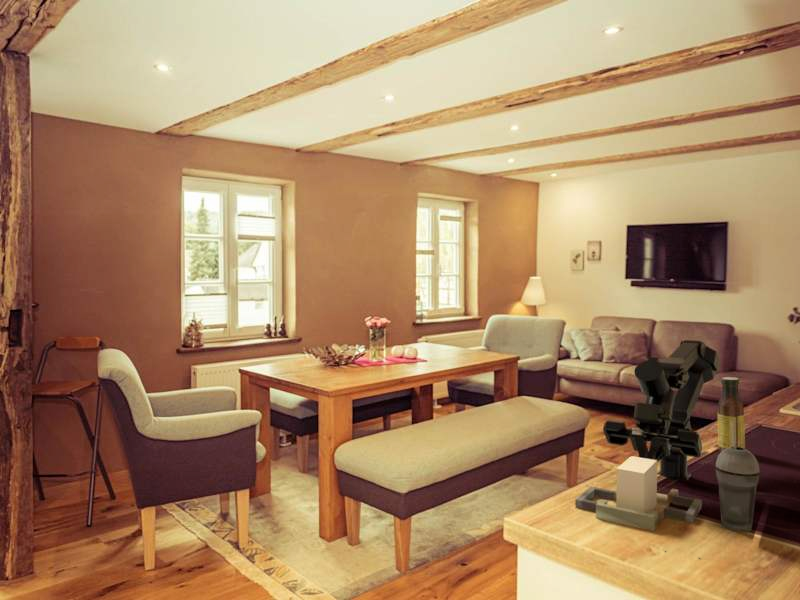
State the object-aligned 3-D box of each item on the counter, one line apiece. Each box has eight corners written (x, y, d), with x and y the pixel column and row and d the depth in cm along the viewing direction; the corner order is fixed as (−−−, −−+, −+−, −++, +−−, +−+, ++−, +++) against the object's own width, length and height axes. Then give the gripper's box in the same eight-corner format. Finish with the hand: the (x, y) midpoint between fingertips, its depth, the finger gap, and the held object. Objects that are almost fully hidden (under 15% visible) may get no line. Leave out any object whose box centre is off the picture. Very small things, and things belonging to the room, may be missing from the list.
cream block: (630, 499, 124) (631, 456, 124) (656, 504, 121) (657, 460, 121) (616, 515, 116) (616, 468, 116) (643, 521, 113) (644, 473, 113)
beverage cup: (735, 542, 106) (737, 429, 105) (704, 526, 113) (706, 420, 112) (769, 538, 108) (771, 426, 107) (736, 522, 115) (738, 417, 114)
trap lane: (603, 487, 134) (603, 471, 134) (704, 507, 123) (705, 489, 122) (569, 516, 118) (570, 499, 118) (683, 543, 106) (684, 523, 106)
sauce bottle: (738, 449, 163) (739, 376, 163) (749, 456, 157) (750, 380, 156) (712, 449, 164) (714, 376, 163) (722, 455, 158) (724, 379, 157)
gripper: (606, 383, 132) (588, 444, 123) (700, 392, 121) (688, 460, 113) (616, 412, 139) (600, 472, 130) (706, 424, 128) (695, 490, 119)
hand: (643, 473), depth 123 cm, fingers closed
